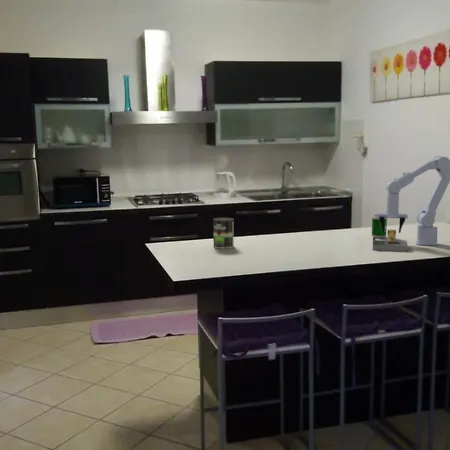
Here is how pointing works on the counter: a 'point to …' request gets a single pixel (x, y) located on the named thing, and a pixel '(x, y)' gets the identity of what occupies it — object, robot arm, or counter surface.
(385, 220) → the soda can
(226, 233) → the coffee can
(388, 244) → the jig
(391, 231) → the bushing
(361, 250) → the counter surface
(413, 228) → the counter surface
